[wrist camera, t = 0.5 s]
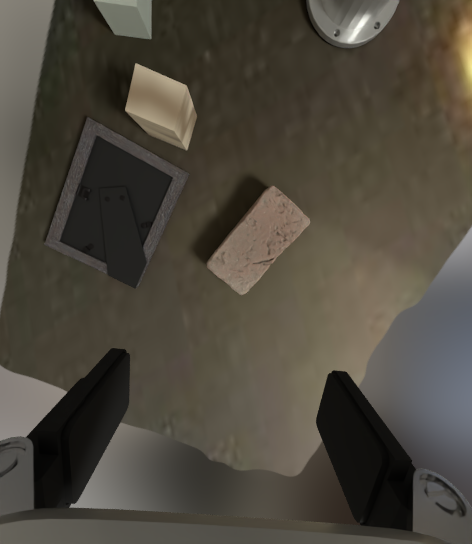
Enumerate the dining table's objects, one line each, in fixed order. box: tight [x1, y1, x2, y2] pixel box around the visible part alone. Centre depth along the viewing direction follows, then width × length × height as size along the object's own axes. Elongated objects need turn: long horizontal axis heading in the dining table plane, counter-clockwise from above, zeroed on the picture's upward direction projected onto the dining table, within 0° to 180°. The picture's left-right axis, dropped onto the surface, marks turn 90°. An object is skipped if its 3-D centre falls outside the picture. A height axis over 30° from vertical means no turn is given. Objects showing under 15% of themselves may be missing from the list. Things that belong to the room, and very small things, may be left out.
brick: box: [207, 185, 310, 295], centre depth 36 cm, size 17×8×5 cm, turn 140°
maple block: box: [125, 64, 197, 150], centre depth 30 cm, size 5×6×8 cm
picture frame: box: [44, 117, 189, 288], centre depth 36 cm, size 16×2×21 cm
